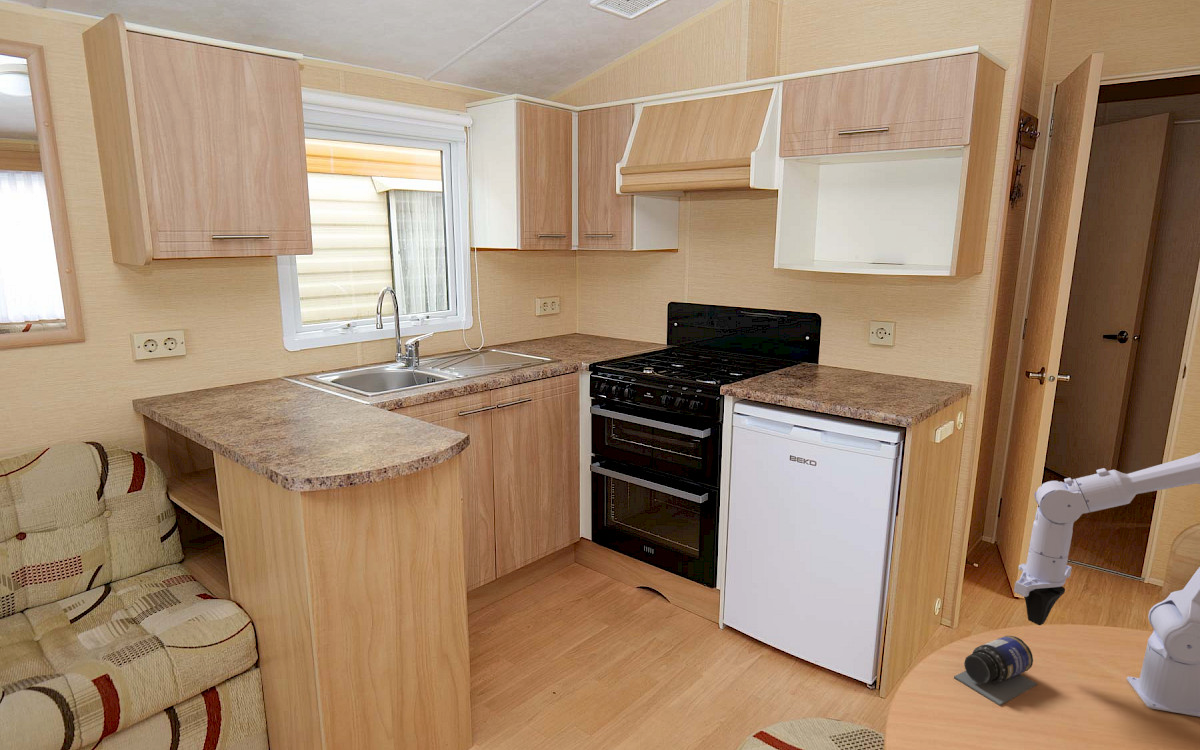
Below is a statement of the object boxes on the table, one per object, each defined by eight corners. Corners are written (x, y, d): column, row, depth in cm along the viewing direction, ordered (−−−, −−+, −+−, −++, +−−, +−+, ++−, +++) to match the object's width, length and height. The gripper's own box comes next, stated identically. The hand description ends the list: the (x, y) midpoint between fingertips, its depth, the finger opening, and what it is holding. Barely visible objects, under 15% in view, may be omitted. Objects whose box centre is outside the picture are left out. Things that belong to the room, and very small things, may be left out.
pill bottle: (1039, 672, 119) (999, 691, 114) (1006, 669, 124) (966, 686, 119) (1027, 635, 120) (987, 652, 115) (995, 633, 126) (955, 649, 121)
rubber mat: (990, 659, 126) (991, 657, 126) (1036, 684, 119) (1036, 683, 119) (953, 677, 120) (954, 676, 120) (999, 705, 113) (999, 704, 113)
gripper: (1046, 533, 127) (1034, 600, 130) (1001, 550, 119) (989, 621, 122) (1089, 548, 121) (1075, 619, 124) (1044, 568, 113) (1031, 642, 116)
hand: (1035, 621), depth 123 cm, fingers closed
